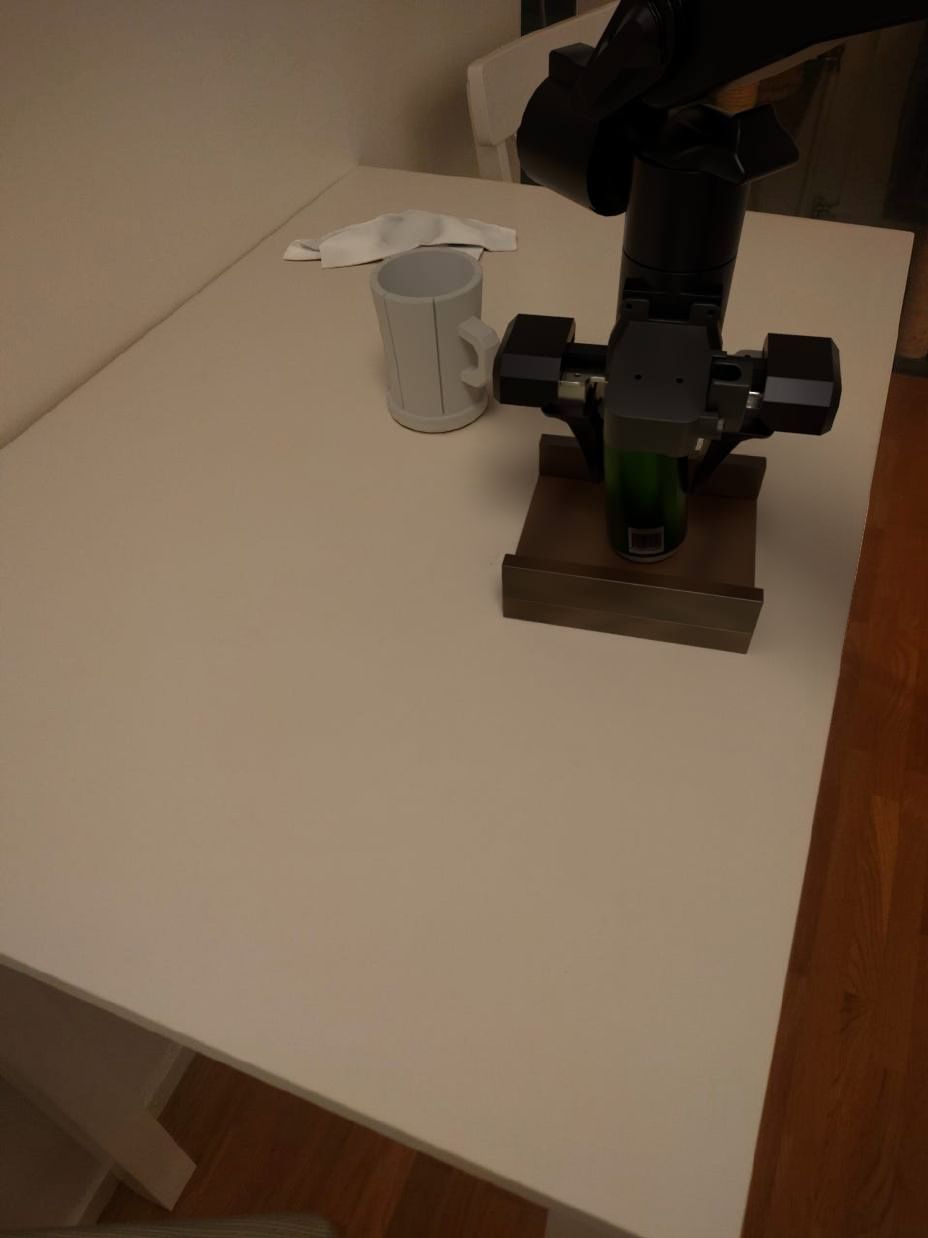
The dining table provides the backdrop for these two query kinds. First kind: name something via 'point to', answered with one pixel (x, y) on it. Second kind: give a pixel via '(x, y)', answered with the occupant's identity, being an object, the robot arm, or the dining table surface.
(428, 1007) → the dining table surface
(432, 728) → the dining table surface
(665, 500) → the beer can
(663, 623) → the rack
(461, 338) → the cup
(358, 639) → the dining table surface
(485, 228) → the cloth
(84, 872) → the dining table surface
